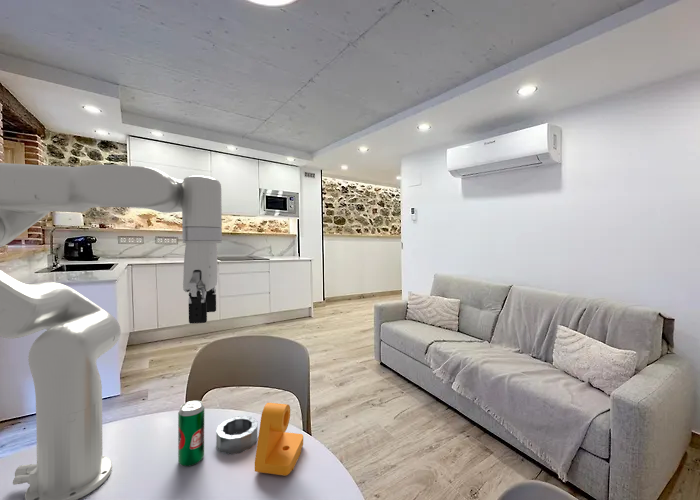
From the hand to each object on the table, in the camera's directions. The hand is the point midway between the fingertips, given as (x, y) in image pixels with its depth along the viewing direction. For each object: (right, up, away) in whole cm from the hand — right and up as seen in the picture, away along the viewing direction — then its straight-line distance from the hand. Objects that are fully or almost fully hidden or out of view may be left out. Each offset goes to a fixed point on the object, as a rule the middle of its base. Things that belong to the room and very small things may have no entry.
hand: (203, 317), depth 66 cm
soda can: (-3, -32, +2) cm, 32 cm away
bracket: (+16, -32, +2) cm, 36 cm away
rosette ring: (+4, -31, +8) cm, 33 cm away
